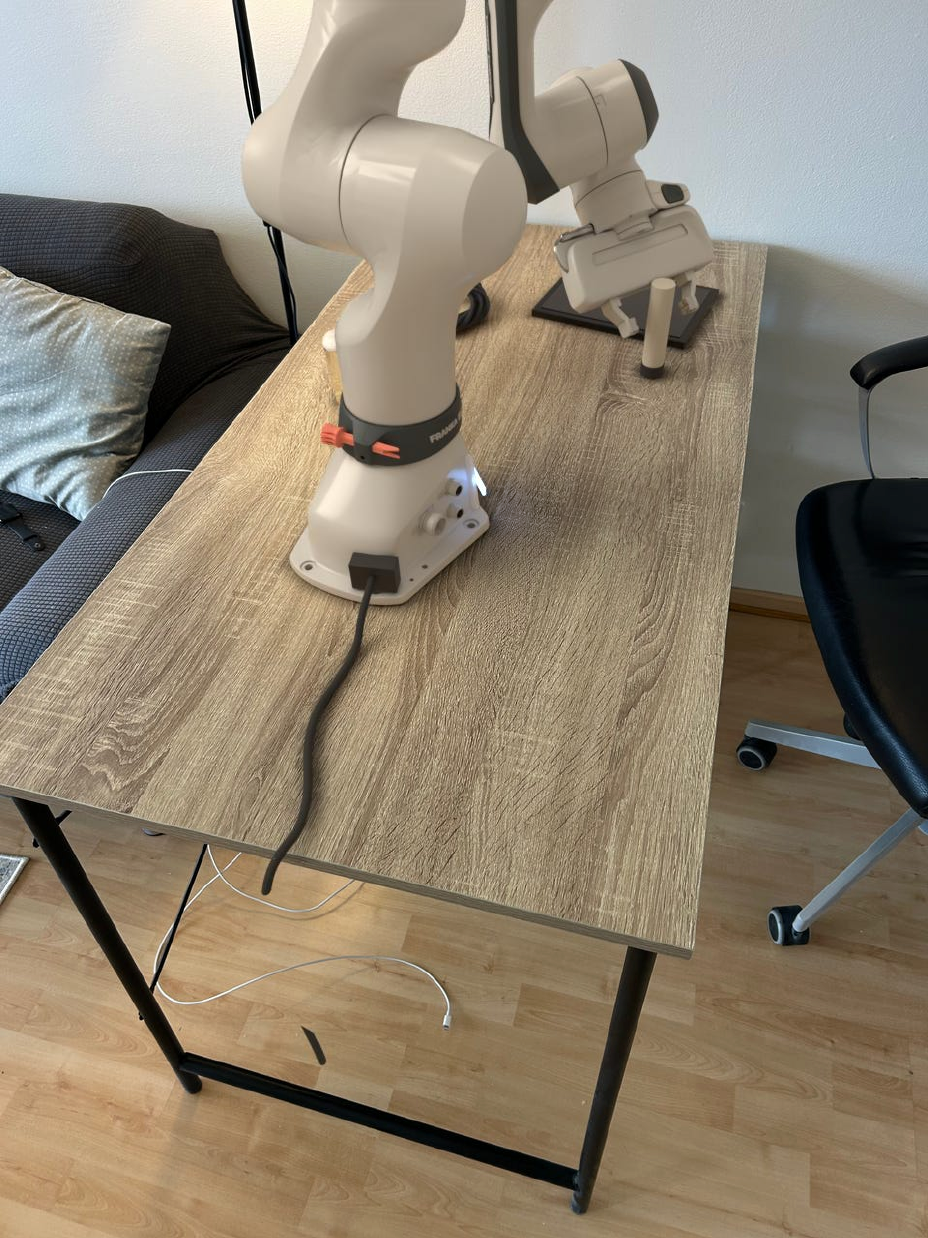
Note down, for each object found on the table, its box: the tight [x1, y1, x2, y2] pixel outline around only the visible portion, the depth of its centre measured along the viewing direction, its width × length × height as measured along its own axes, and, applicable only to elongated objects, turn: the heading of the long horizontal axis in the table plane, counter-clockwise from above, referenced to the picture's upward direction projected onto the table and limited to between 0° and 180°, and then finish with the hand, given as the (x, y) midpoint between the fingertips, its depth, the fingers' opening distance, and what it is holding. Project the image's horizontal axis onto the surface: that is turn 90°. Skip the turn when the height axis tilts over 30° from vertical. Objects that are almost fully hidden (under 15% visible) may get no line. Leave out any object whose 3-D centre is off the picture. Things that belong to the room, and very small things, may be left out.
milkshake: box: [321, 328, 343, 405], centre depth 109 cm, size 5×5×10 cm
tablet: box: [531, 276, 720, 350], centre depth 126 cm, size 16×22×1 cm
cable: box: [456, 281, 491, 332], centre depth 125 cm, size 17×14×4 cm
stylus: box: [639, 278, 676, 380], centre depth 110 cm, size 3×3×12 cm
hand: (661, 323), depth 109 cm, fingers open, 8 cm apart
